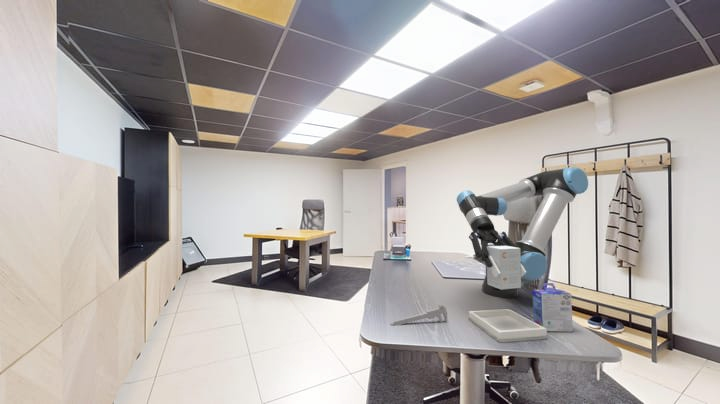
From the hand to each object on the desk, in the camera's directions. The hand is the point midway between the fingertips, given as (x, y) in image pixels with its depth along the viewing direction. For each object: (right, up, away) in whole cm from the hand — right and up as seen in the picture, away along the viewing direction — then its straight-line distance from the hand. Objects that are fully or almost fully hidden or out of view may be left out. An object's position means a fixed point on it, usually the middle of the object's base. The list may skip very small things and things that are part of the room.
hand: (510, 274), depth 83 cm
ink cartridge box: (+16, -19, +3) cm, 25 cm away
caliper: (-28, -19, +7) cm, 35 cm away
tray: (0, -19, +3) cm, 19 cm away
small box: (0, -5, +3) cm, 6 cm away
